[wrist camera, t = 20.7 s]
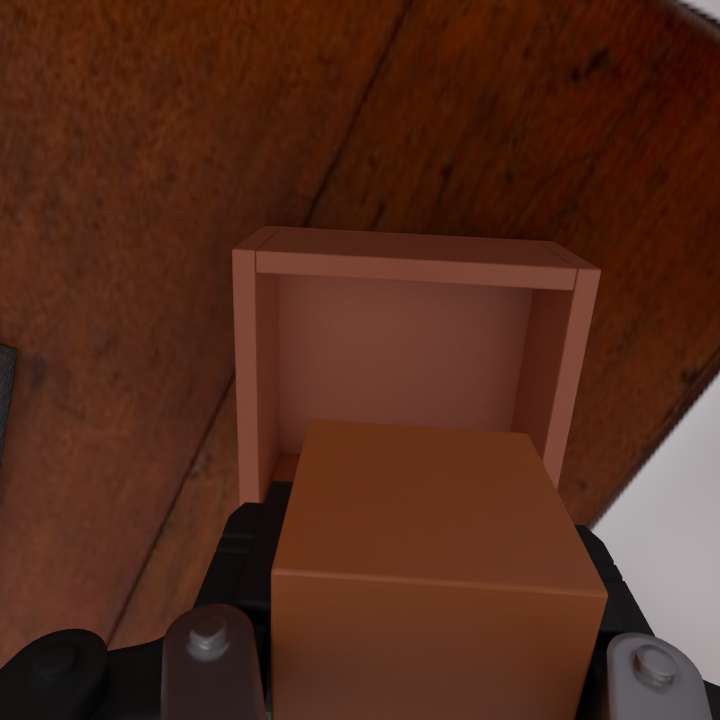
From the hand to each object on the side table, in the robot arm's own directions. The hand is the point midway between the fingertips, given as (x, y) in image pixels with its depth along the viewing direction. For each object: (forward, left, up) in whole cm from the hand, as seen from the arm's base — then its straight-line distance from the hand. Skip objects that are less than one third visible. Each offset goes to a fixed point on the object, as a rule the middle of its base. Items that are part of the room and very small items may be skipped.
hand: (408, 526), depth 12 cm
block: (0, 0, 0) cm, 0 cm away
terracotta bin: (0, +2, -15) cm, 15 cm away
